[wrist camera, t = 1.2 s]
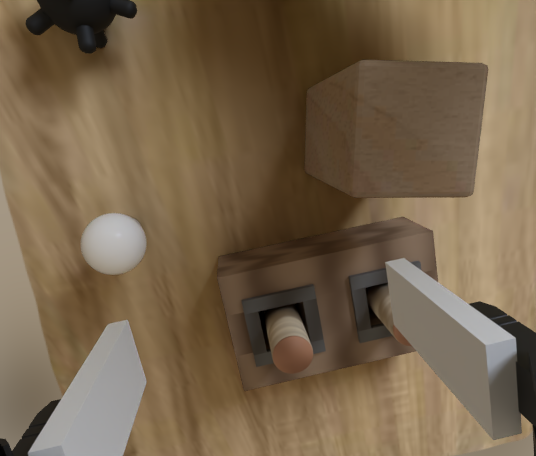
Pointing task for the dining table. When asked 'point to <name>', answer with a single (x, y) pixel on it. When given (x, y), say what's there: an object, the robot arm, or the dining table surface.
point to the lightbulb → (113, 243)
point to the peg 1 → (288, 339)
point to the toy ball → (80, 19)
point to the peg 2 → (384, 309)
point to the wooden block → (397, 128)
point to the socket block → (319, 295)
